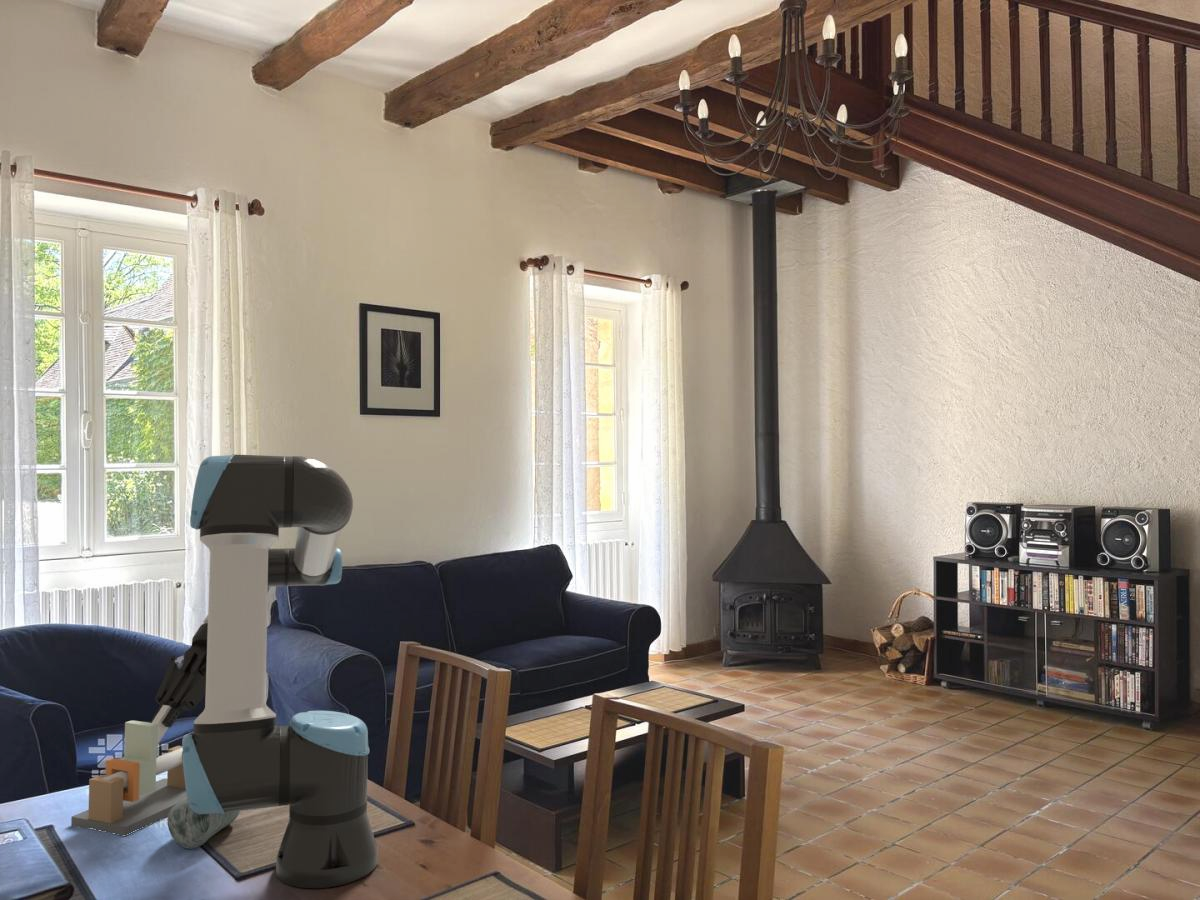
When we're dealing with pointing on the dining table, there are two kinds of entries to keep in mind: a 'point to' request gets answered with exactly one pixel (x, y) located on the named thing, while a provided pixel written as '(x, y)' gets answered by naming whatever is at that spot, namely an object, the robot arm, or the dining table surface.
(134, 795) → the ring
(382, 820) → the dining table surface
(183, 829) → the grey rounded lump
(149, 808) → the rig
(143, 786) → the sleeve
